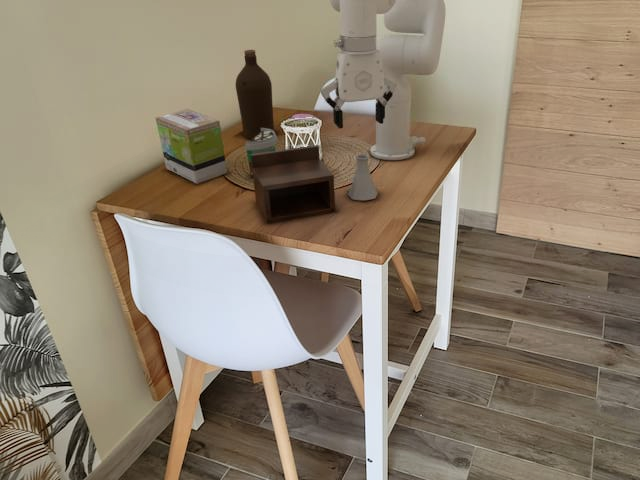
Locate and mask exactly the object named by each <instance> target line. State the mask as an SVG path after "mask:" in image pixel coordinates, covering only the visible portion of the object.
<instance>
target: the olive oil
mask: <svg viewBox="0 0 640 480" xmlns="http://www.w3.org/2000/svg"><path fill="white" fill-rule="evenodd" d="M244 62H245V63H244V66H243V67H242V69H241V70H240V71H239V73H238V74H237V76H236V79H235V91H236V96H237V101H238V107H239V114H240V118H241V119H240V120H241V125H242V131H243V137H245V138H246V139H248V140H252V139H253V137H254V136H256V135H258V134H259V133H260V132H261V128H267V129H271V130H273V131H274V132H275V123H274V107H273V106H274V105H273V86H272V84H273V83H272V81H271V78H270V75H269V74H268V73H267V72H266V71H265V70H264V69H263V68H262V67H261V66H259V64H258V59H257V55H256V50H255V49H246V50H244Z"/></svg>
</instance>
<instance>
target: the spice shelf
mask: <svg viewBox="0 0 640 480" xmlns="http://www.w3.org/2000/svg"><path fill="white" fill-rule="evenodd" d="M250 157H251V165H252V173H253V178H252V181H253V188H254V196H255V203H256V205H257V207H258V209H259V211H260V212H261V215H262V217H263V218H264V220H265V223H266V224H272V223H277V222H284V221H288V220H296V219H301V218H307V217H313V216H317V215H324V214H329V213H335V212H336V194H335V175H334V173H333V172H332V171H331V170H330V169H329V168H328V167H327V165H326V164H325V163H324V162H323V161H322V160H321V159H320V147H319V145H318V144H316V145H315V144H314V145H313V146H307V147H300V148H297V147H294V148H286V149H278V150H276V151H271V152H264V153H256V154H250Z"/></svg>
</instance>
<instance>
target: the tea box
mask: <svg viewBox="0 0 640 480" xmlns="http://www.w3.org/2000/svg"><path fill="white" fill-rule="evenodd" d="M155 121H156V127H157V130H158V135H159V140H160V145H161V149H162V154H163V157H164V158H163V159H164V163H165V168H166V170H168V171H170V172H172V173H174V174H176V175H179V176H181V177H182V178H185V179H186V180H188V181H190V182H192V183H194V184H196V185H198V184H201V183H204V182H207V181H209V180H212V179H215V178H218V177H220V176H223V175H225V174H227V173H228V168H227V162H226V155H225V154H226V153H225V148H224V142H223V141H224V140H223V135H222V129H221V124H220V123H221V122H220V121H221V120H219V119H216V118H213V117H211V116H207V115H205V114H202V113H201V112H200V113H199V112H197V111H195V110H191V109H188V108H185V109H182V110H179V111H175V112H171V113H168V114H164V115H161V116H156V117H155Z"/></svg>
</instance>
